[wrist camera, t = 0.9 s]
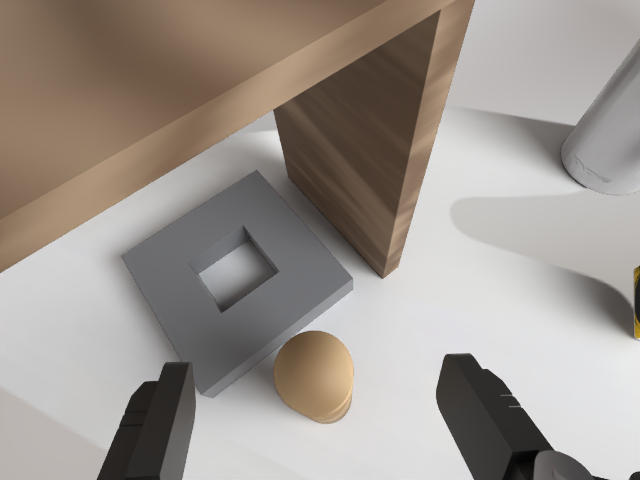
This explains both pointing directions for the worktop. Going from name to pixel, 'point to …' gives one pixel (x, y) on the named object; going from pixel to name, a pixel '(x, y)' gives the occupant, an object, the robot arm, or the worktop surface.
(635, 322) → the medicine bottle
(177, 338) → the socket plate
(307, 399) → the wooden peg
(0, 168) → the wooden l bracket
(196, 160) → the worktop surface
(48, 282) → the worktop surface
